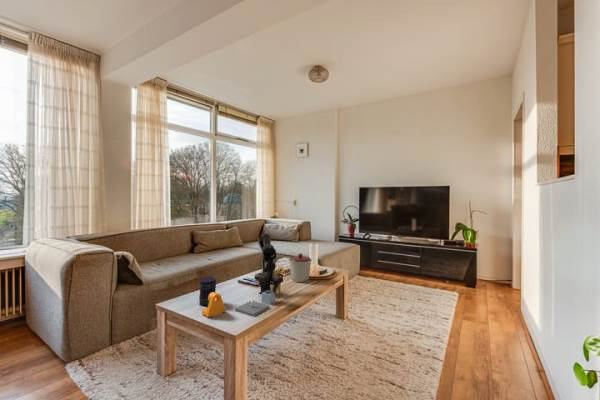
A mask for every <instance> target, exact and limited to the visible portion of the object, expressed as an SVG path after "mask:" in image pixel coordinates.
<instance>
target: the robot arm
mask: <svg viewBox="0 0 600 400" xmlns="http://www.w3.org/2000/svg"><path fill="white" fill-rule="evenodd" d="M271 238H272V237H271V235H270V234H267V233H266V234H261V235H260V236H258V239H257V243H258V246H259V248H260V249H261V267H262V271H261V272H258V273H256V274H254V280H255V281H257V282H258V285H259V286H260V292H258V294H260V295H262V293H263V292H265V291H267V290H269V291H273V292H274V293H275V294H276V291H277V289H278V288H279V286H280V284H281V283H284V278H283V277H282V276H276V277H275V274H274V271H275V269H276V267H277V265H276V263H275V260H276V259H277V251H276V248H274V247H275V246H273V245H272V243H271V242H272V241H271ZM272 286H273V290H272Z"/></svg>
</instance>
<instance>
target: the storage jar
mask: <svg viewBox="0 0 600 400" xmlns="http://www.w3.org/2000/svg"><path fill="white" fill-rule="evenodd" d="M198 284H199V285H198V288H199V295H198V298H199V299H198V300H199V302H198V303H199V306H200V307H204V308H208V305H209V302H210V301H209V300H208V296H209V294H210V293H212V292H215V293H216V288H217V278H216V277H215V276H206V277H201V278H200V279H199V283H198Z"/></svg>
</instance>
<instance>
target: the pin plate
mask: <svg viewBox="0 0 600 400" xmlns="http://www.w3.org/2000/svg"><path fill="white" fill-rule="evenodd" d="M269 309H270V305H269V304H265V303H262V302H258V301H255V300H254V299H251V300H250V301H247V302H246V303H243V304H240V305H239V306H238V307H235V308H234V311H235V312H237V313H240V314H244V315H246V314H247V315H246V316H250V317H253V316H254V317H256V316H257V315H259V313H260V314H261V313H263V312H265V311H267V310H269Z"/></svg>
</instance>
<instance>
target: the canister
mask: <svg viewBox="0 0 600 400" xmlns="http://www.w3.org/2000/svg"><path fill="white" fill-rule="evenodd" d="M312 260H313V259H312V258H310V257H309V256H306V255H303V254H302V253H298V254H297V255H294V256H292V257H290V258H289V259H288V261H289V268H290V269H289V270H290V277H291V280H292V281H293V282H296V283H305V282H308V280H309V278H310V272H311V271H310V270H311V264H312V263H311V262H312Z"/></svg>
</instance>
